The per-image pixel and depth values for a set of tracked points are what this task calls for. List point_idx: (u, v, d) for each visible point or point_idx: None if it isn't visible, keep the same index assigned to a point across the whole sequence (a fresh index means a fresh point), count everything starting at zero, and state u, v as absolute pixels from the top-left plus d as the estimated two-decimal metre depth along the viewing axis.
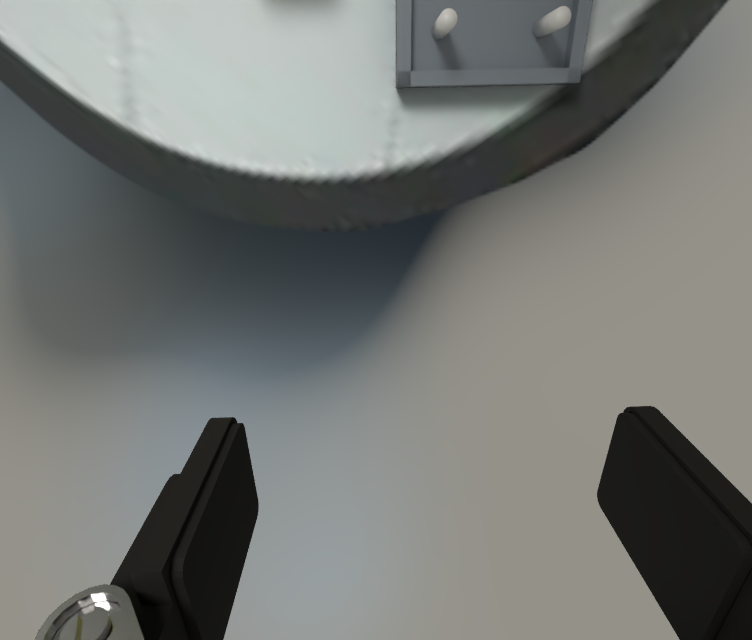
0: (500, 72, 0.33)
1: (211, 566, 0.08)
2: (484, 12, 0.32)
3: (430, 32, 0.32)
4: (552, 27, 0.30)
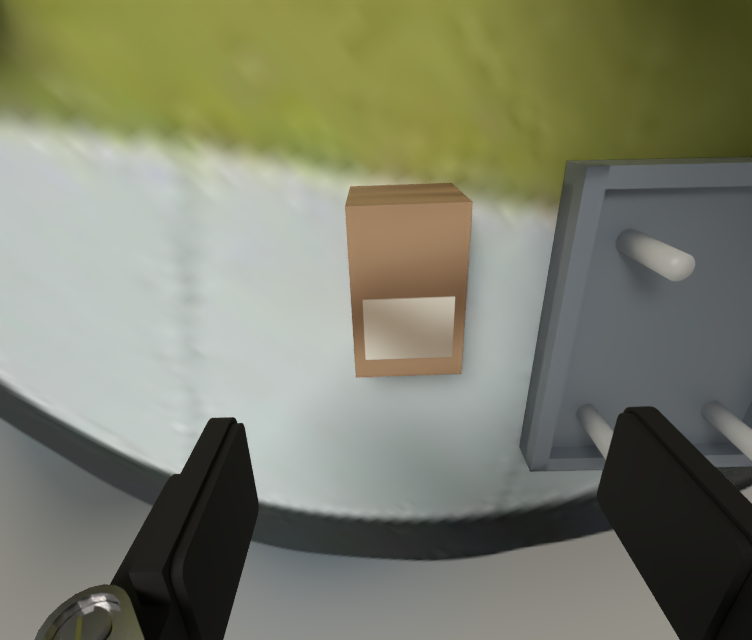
0: None
1: (211, 566, 0.08)
2: (645, 396, 0.26)
3: (574, 414, 0.26)
4: (746, 456, 0.23)
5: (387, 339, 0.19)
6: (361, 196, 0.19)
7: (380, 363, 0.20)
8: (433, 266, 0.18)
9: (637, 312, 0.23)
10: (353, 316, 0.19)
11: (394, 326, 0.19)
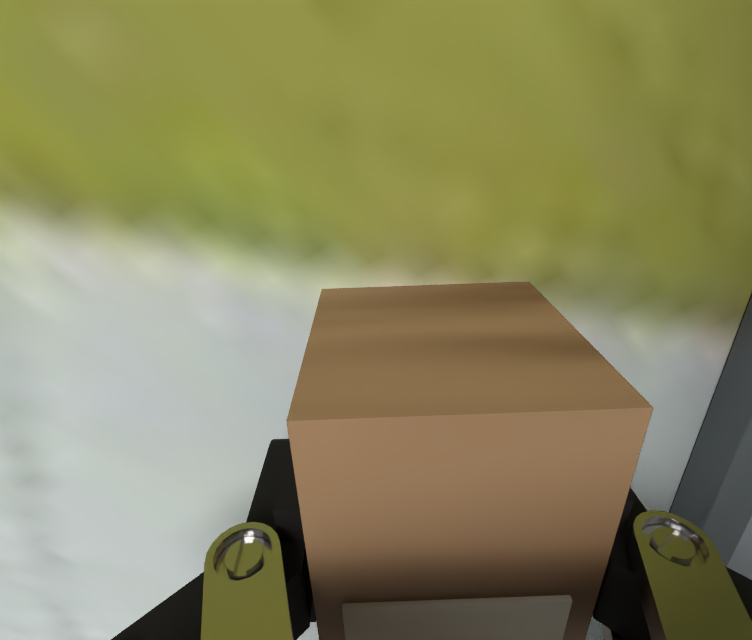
0: None
1: None
2: None
3: None
4: None
5: None
6: (339, 348, 0.08)
7: None
8: (525, 541, 0.07)
9: None
10: (321, 632, 0.08)
11: None
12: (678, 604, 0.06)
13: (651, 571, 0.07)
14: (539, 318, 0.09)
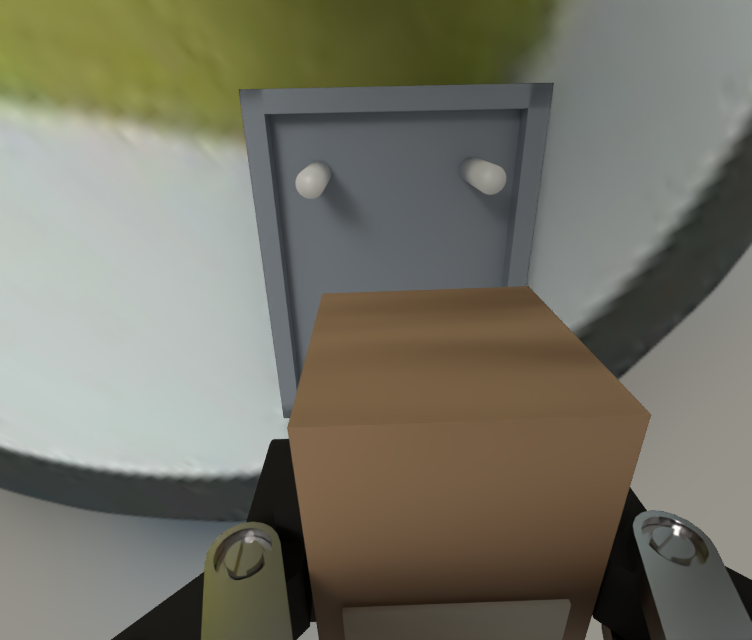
0: None
1: None
2: None
3: None
4: None
5: None
6: (339, 353, 0.08)
7: None
8: (524, 546, 0.07)
9: (352, 249, 0.23)
10: (321, 636, 0.08)
11: None
12: (677, 604, 0.06)
13: (651, 571, 0.07)
14: (538, 323, 0.09)
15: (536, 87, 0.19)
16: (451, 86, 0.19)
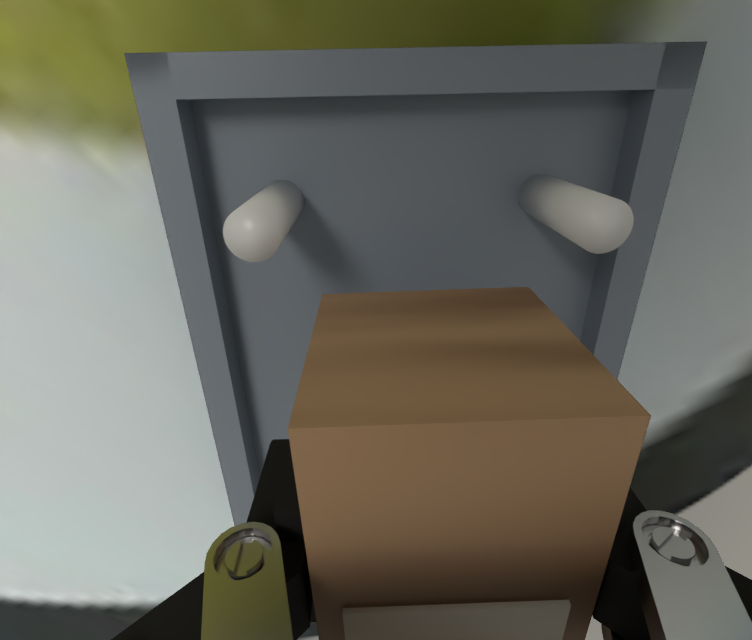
0: None
1: None
2: None
3: None
4: None
5: None
6: (339, 354, 0.08)
7: None
8: (524, 546, 0.07)
9: None
10: (321, 636, 0.08)
11: None
12: (677, 604, 0.06)
13: (651, 571, 0.07)
14: (538, 324, 0.09)
15: (674, 50, 0.10)
16: (518, 48, 0.10)
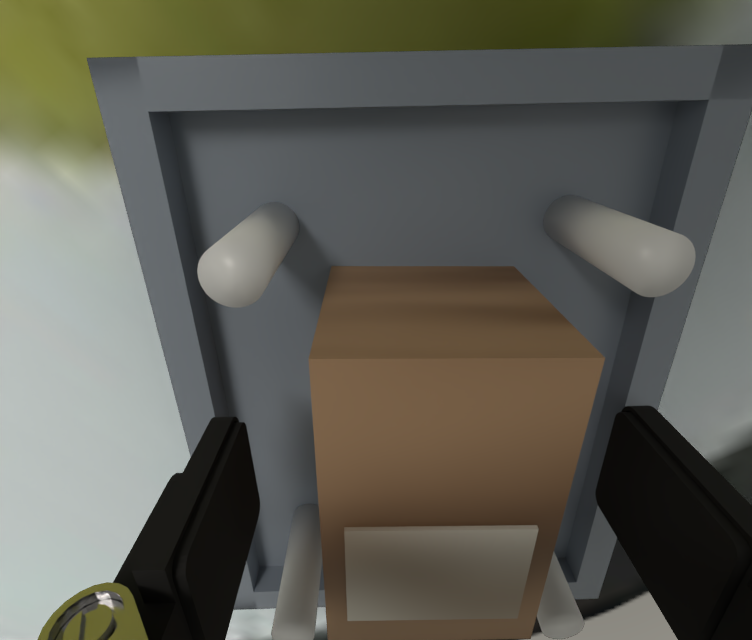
0: None
1: (213, 565, 0.08)
2: None
3: (292, 518, 0.16)
4: None
5: (392, 592, 0.10)
6: (349, 310, 0.09)
7: (376, 624, 0.10)
8: (500, 474, 0.08)
9: None
10: (324, 554, 0.09)
11: (406, 570, 0.10)
12: None
13: None
14: (520, 294, 0.10)
15: (733, 54, 0.09)
16: (550, 51, 0.09)
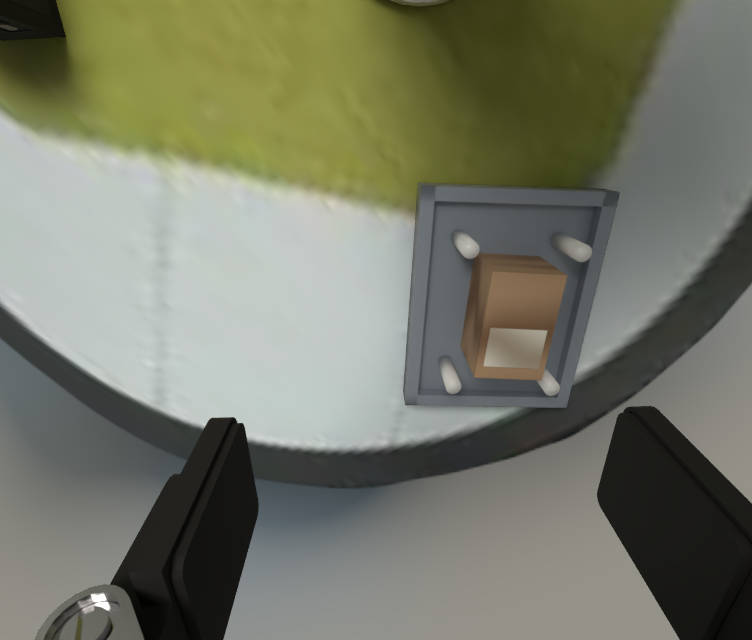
0: (497, 398, 0.37)
1: (211, 566, 0.08)
2: None
3: (436, 363, 0.36)
4: (543, 390, 0.34)
5: (500, 354, 0.30)
6: (493, 263, 0.30)
7: (492, 369, 0.31)
8: (537, 310, 0.29)
9: None
10: (482, 337, 0.30)
11: (505, 346, 0.30)
12: None
13: None
14: (543, 263, 0.31)
15: (608, 194, 0.30)
16: (555, 191, 0.30)
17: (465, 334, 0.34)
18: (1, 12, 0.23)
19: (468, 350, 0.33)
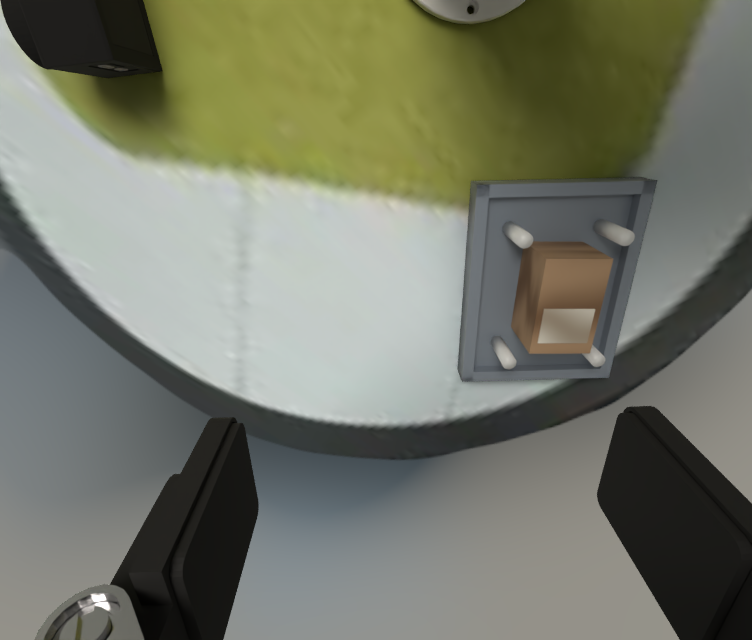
0: (545, 372, 0.41)
1: (211, 566, 0.08)
2: None
3: (489, 342, 0.40)
4: (589, 362, 0.38)
5: (552, 332, 0.34)
6: (544, 251, 0.34)
7: (545, 345, 0.35)
8: (586, 291, 0.33)
9: None
10: (536, 318, 0.34)
11: (557, 324, 0.34)
12: None
13: None
14: (588, 248, 0.34)
15: (647, 183, 0.33)
16: (598, 182, 0.33)
17: (516, 315, 0.38)
18: (125, 60, 0.27)
19: (520, 329, 0.37)
